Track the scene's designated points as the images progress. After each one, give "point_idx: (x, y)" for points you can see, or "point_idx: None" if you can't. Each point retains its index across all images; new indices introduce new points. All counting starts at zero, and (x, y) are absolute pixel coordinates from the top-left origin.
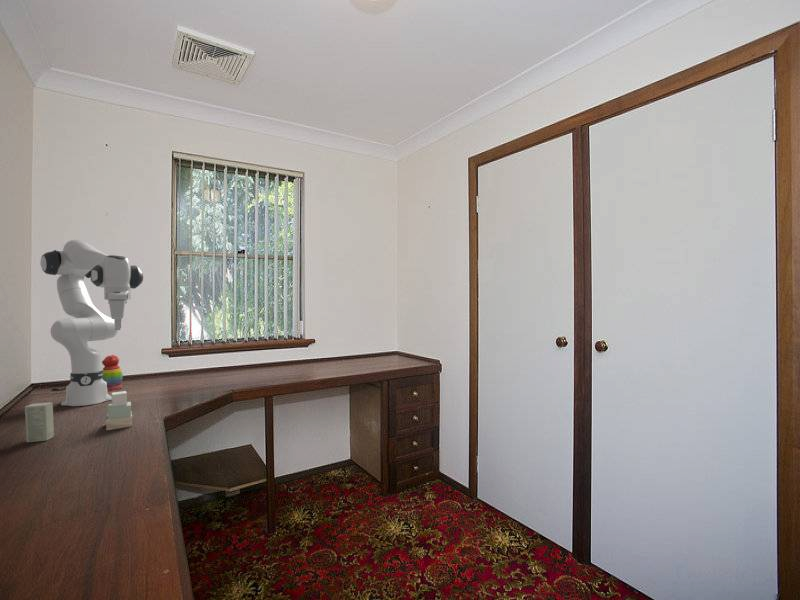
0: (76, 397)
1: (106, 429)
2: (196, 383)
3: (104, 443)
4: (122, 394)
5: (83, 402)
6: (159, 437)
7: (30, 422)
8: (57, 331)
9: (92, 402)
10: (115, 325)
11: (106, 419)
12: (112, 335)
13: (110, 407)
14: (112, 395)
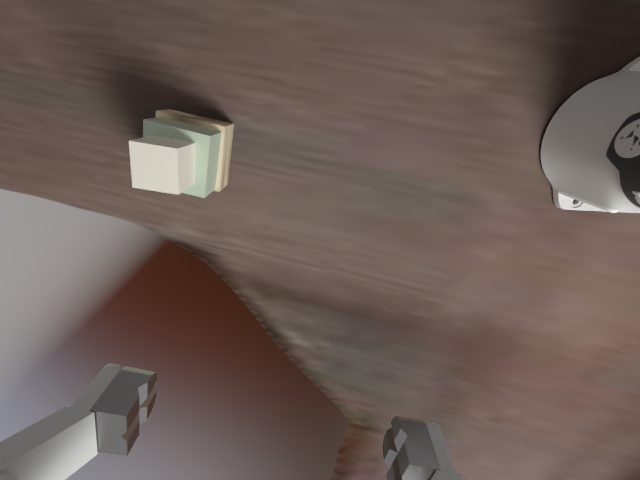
0: (602, 99)
1: (169, 109)
2: (534, 410)
3: (33, 76)
4: (132, 172)
5: (562, 118)
6: (22, 191)
7: None
8: None
9: (547, 145)
10: (55, 416)
11: (161, 112)
12: None
13: (150, 128)
14: (130, 141)
